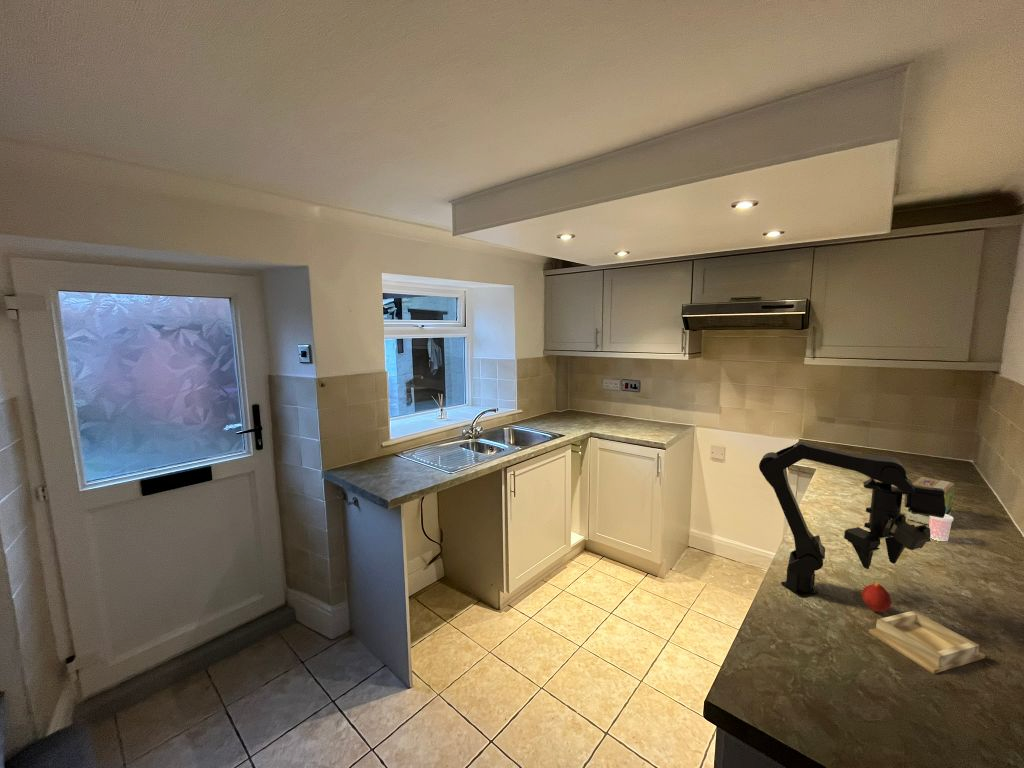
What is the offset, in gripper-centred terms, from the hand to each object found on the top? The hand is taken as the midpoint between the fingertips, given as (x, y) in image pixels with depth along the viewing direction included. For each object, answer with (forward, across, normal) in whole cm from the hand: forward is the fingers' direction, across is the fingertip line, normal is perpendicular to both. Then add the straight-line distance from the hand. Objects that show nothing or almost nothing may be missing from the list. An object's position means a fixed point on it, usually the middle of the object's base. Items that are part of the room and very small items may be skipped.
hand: (879, 565), depth 110 cm
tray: (+12, -2, -12) cm, 18 cm away
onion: (+13, 0, 0) cm, 13 cm away
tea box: (+13, +77, +34) cm, 85 cm away
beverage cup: (+13, +61, +22) cm, 66 cm away
